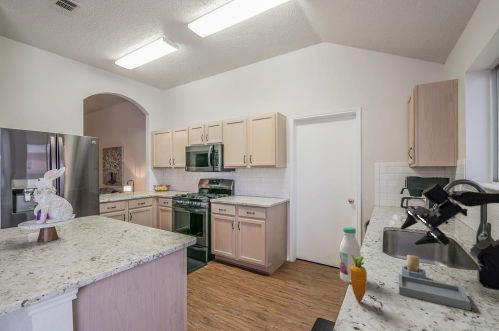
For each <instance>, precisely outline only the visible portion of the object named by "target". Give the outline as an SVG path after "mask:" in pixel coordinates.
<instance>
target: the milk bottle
mask: <svg viewBox="0 0 499 331" xmlns="http://www.w3.org/2000/svg"><path fill="white" fill-rule="evenodd" d="M342 230H343V232H342V233H343V238H342V240H341V243H340V246H339V277H340V279H341V280H342V281H344V282H346V283H349V284H352V283H351V281H350V280H351V274H350V267H351V266H353V265H355V262H354V260H353V258H352V256H351V255H354V257H355V258H356V257H357V258H359V256H362V255H361V254H362V253H361V248H360V245H359V243H358V240H357V238H356V233H357V230H356V228H355V227H352V226H344V227H343V228H342ZM357 261H358V260H357Z"/></svg>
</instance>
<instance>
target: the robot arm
mask: <svg viewBox="0 0 499 331" xmlns="http://www.w3.org/2000/svg"><path fill="white" fill-rule="evenodd" d="M421 195H422V196H423V197H425V199H426V200H428V202H430V203H431V204H432V205H438V206H437V207H436V208H434V207H430V208H428V209H427V208H426V207H424V206H422V205H418V206H417V207H416V208H415V206H413V205H412V206H411V205H410V206H408V207H407V208H406V214H407V217H406V219H405V220H404V221H403V224H402V225H401V227H400V229H401V230H406V229H408V228H409V227H411V226H414V225H416V224H418V223H419V222H421V223H422V224H423V225H424V226H425V227H426V228H427V229H428V231H427V232H426V235H424V236H423V237H421V238H420V239H418V240H417V241H416V242H414V245H416V246H421V245H428V244H429V245H430V244H439V245H442V244H443V246H447V245H449V244H450V242H451V239H450V238H449V237H448V236H447V235H446V233H444V232H443V231H442V230H441V229H440V228H439V227H440V226H442V225H443V224H445V225H447V224H449V222H448V221H450V220H451V219H453V218H455V217H456V216H457V215H459V214H460V215H462V216H464V217H468V208H470V207H471V208H473V207H479V206H484V205H485V206H486V205H489V204H499V192H479V191H471V190H458V191H457V192H455V193H451V192H449V193H448V192H447V191H446V190H445V189H444V188H443V187H442V186H441V184H439V183H435V184H434V185H431V186H429V187H427V188H425V189H424V190H423V191H422V192H421ZM451 200H452V201H455V202H452V201H451ZM462 206H465V207H468V208H463V207H462ZM418 221H419V222H418ZM429 230H430V231H429ZM470 255H471V257H472V258H473V259H475V261H476V262H477V263H478V268H477V269H476V274H477V276H476V279H477V281H478V282H479V283H480V284H481V285H482V287H484V288H489V289H495V290H499V238H498V239H497V240H496V239H495V241H487V240H485V239H481V240H480V241H479V242H478V243H477V242H476V243H474V244H472V247H471V248H470Z"/></svg>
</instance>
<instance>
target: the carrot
mask: <svg viewBox="0 0 499 331" xmlns="http://www.w3.org/2000/svg"><path fill="white" fill-rule="evenodd" d="M351 256H352V258H353V260H354V262H355V265H353V266H351V267H350V274H351V283H350V284H351V288H352V291H353V294H354V297H355V299H356V301H357V302H358V303H361V302H362V301H363V299H364V297H365V294H366V289H367V281H368V280H367V273H368V272H367V270H366V267H365V266H363V265H364V264H365V262H363V260H364V258H365V257H364V256H363V255H361V256H359V258H357V257H356V258H355V257H354V255H351ZM357 260H358V261H357Z"/></svg>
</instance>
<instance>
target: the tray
mask: <svg viewBox="0 0 499 331" xmlns="http://www.w3.org/2000/svg"><path fill="white" fill-rule="evenodd" d="M398 294H399V295H402V296H406V297H411V298H414V299H419V300H424V301H427V302H431V303H436V304H441V305H445V306H449V307H452V308H453V307H454V308H458V309H460V310H461V309H462V310H467V311H471V308H472V307H471V301H470V299H469V298H468V296H467V294H466V293H465V291H464V288H463V287H462V286H461V285H456V284H451V283H446V282H440V281H435V280H430V279H426V280H425V279H420V278H415V277H410V276H405V275H402V274H401V273H400V274H399V273H398Z"/></svg>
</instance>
